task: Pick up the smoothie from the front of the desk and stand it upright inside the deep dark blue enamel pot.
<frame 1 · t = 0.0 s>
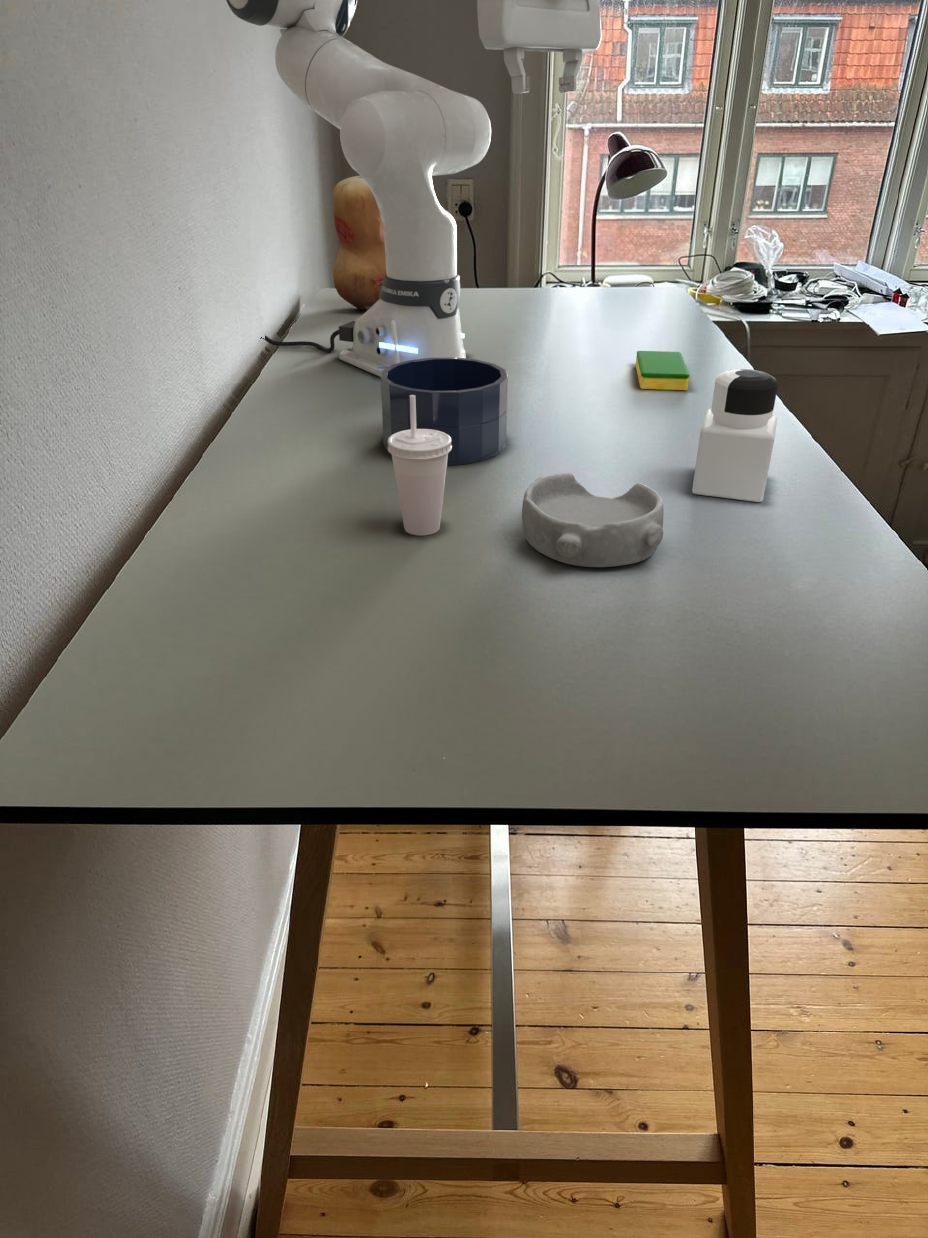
hand: (545, 92, 112), 39 cm above the table, tool pointing down, fingers open, 8 cm apart
butternut squash: (369, 310, 183), on the table
smoothie: (422, 529, 93), on the table
dish: (589, 544, 90), on the table
pot: (444, 443, 114), on the table
dish sponge: (660, 378, 140), on the table
container: (729, 488, 102), on the table
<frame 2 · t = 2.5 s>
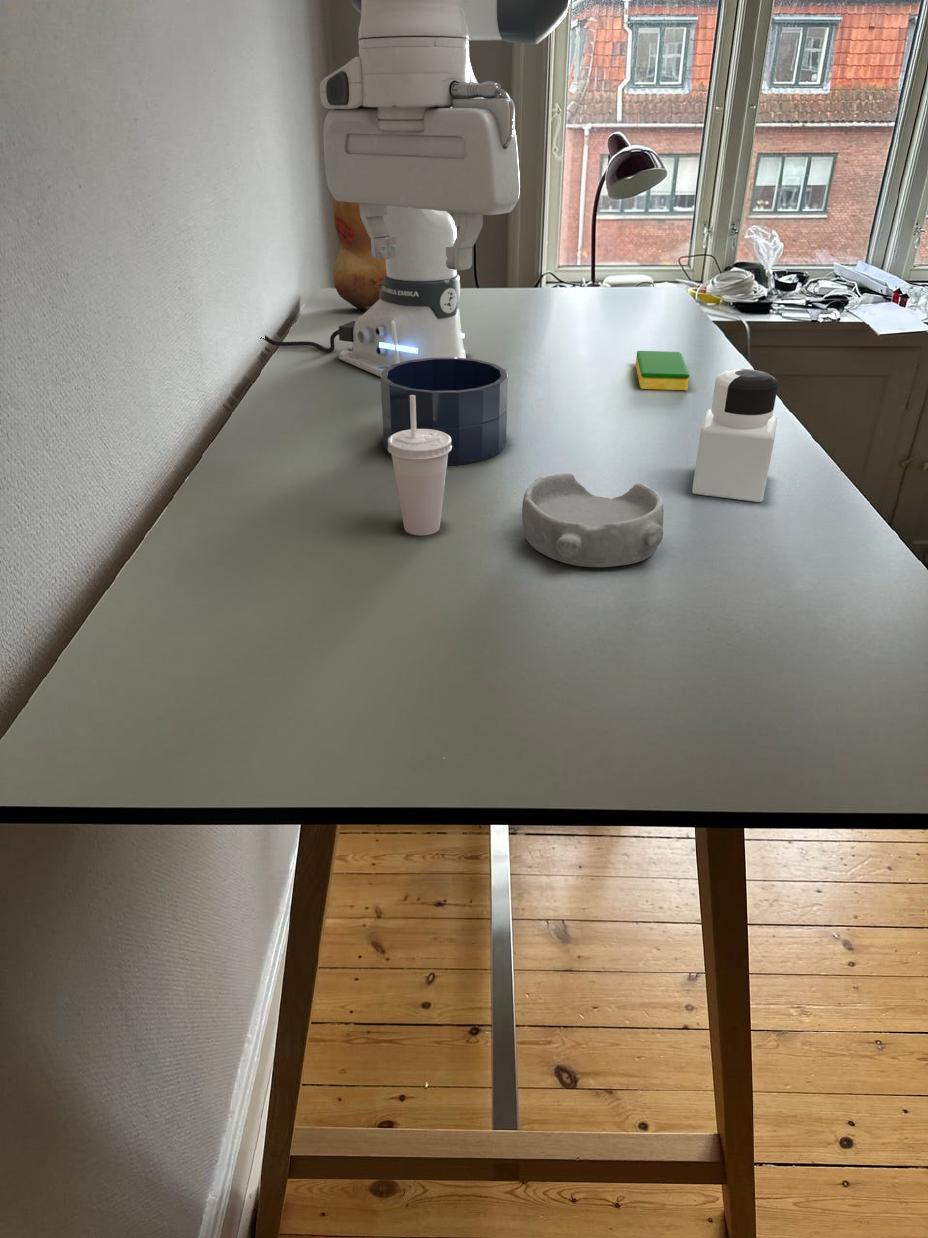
hand: (420, 263, 79), 26 cm above the table, tool pointing down, fingers open, 8 cm apart
nothing on the table moved.
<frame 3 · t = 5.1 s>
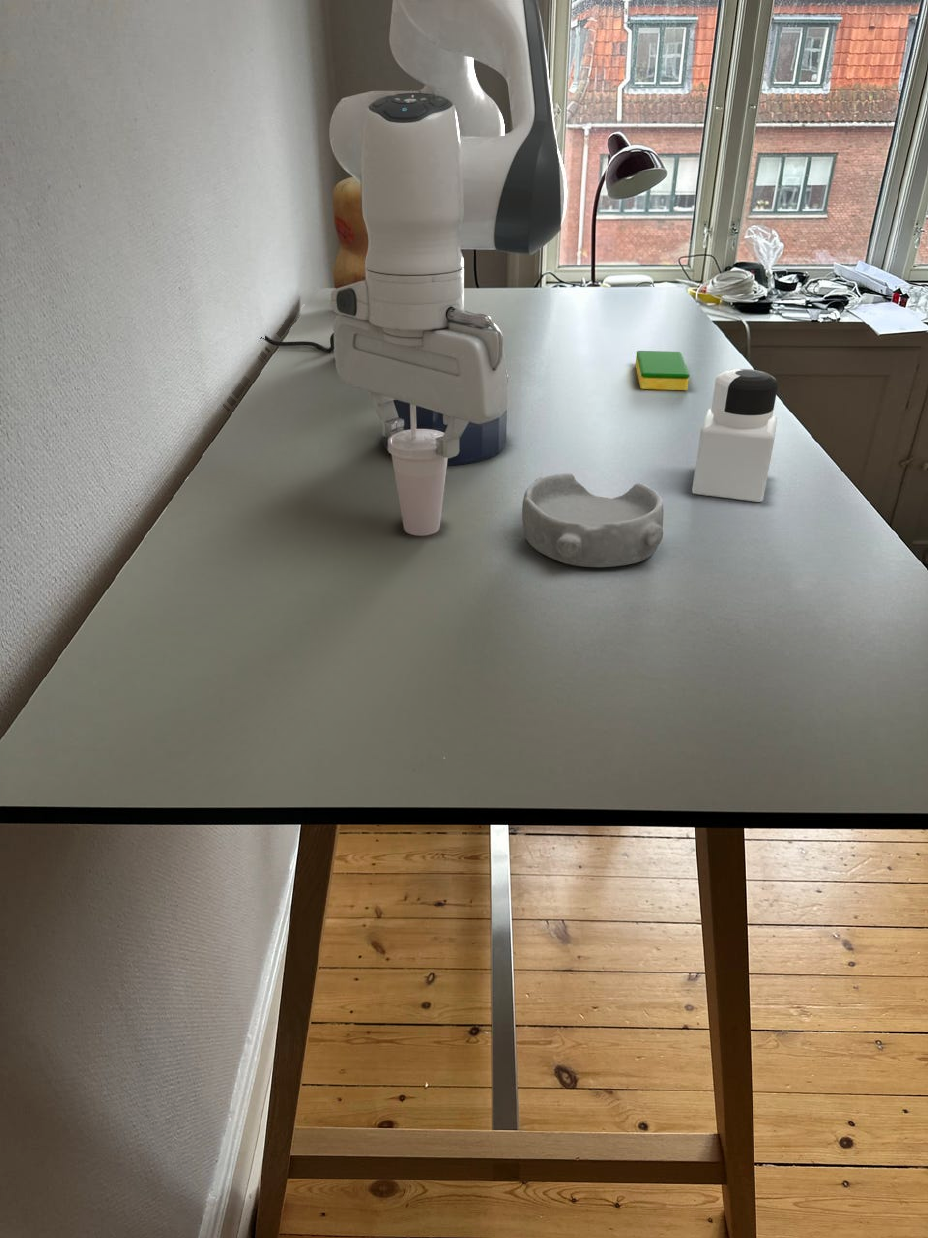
hand: (419, 445, 88), 9 cm above the table, tool pointing down, fingers closed on smoothie, 6 cm apart
smoothie: (421, 529, 93), on the table, touching gripper
everything else where it was.
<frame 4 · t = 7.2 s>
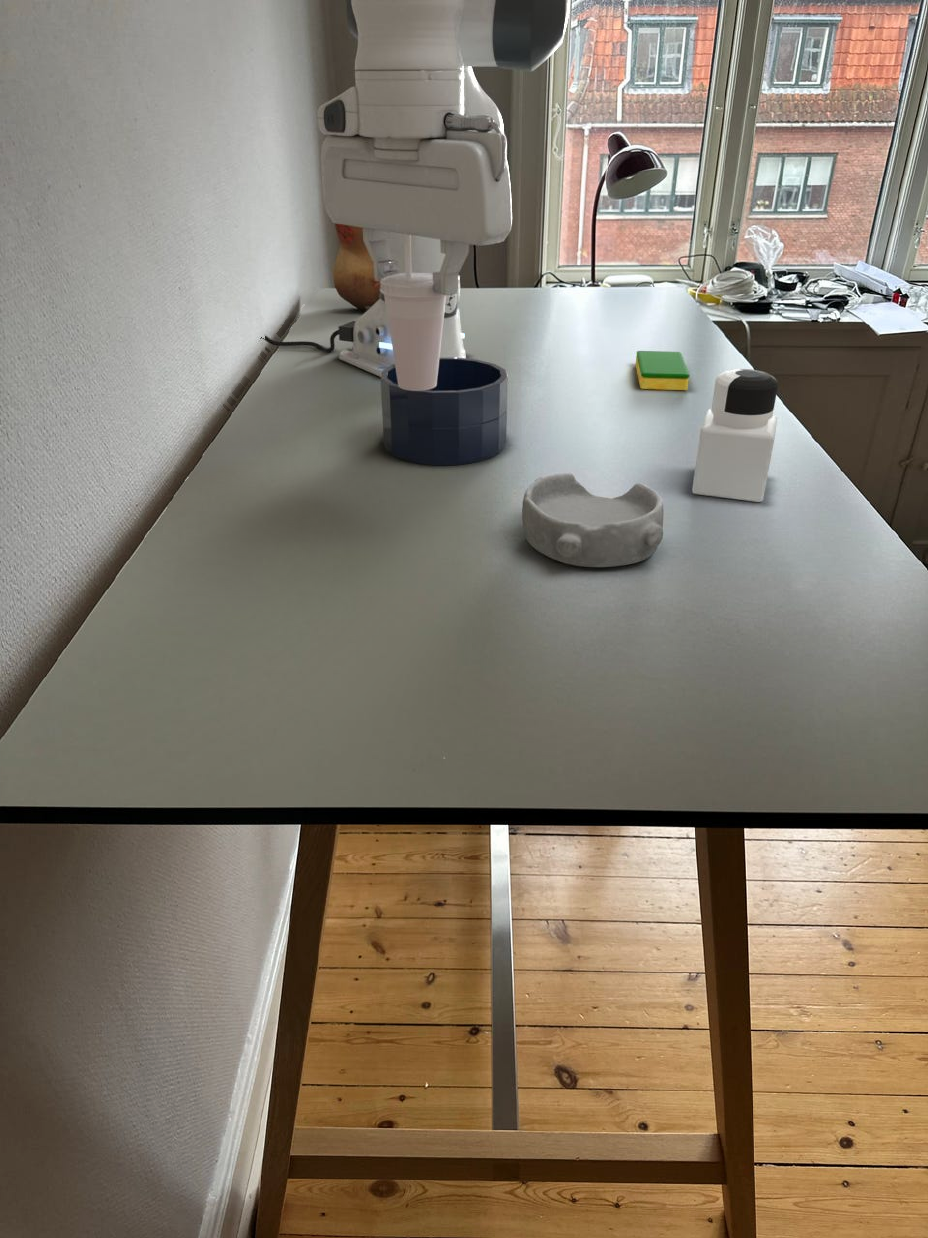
hand: (415, 287, 81), 24 cm above the table, tool pointing down, fingers closed on smoothie, 6 cm apart
smoothie: (417, 386, 85), point 15 cm above the table, touching gripper
everything else where it was.
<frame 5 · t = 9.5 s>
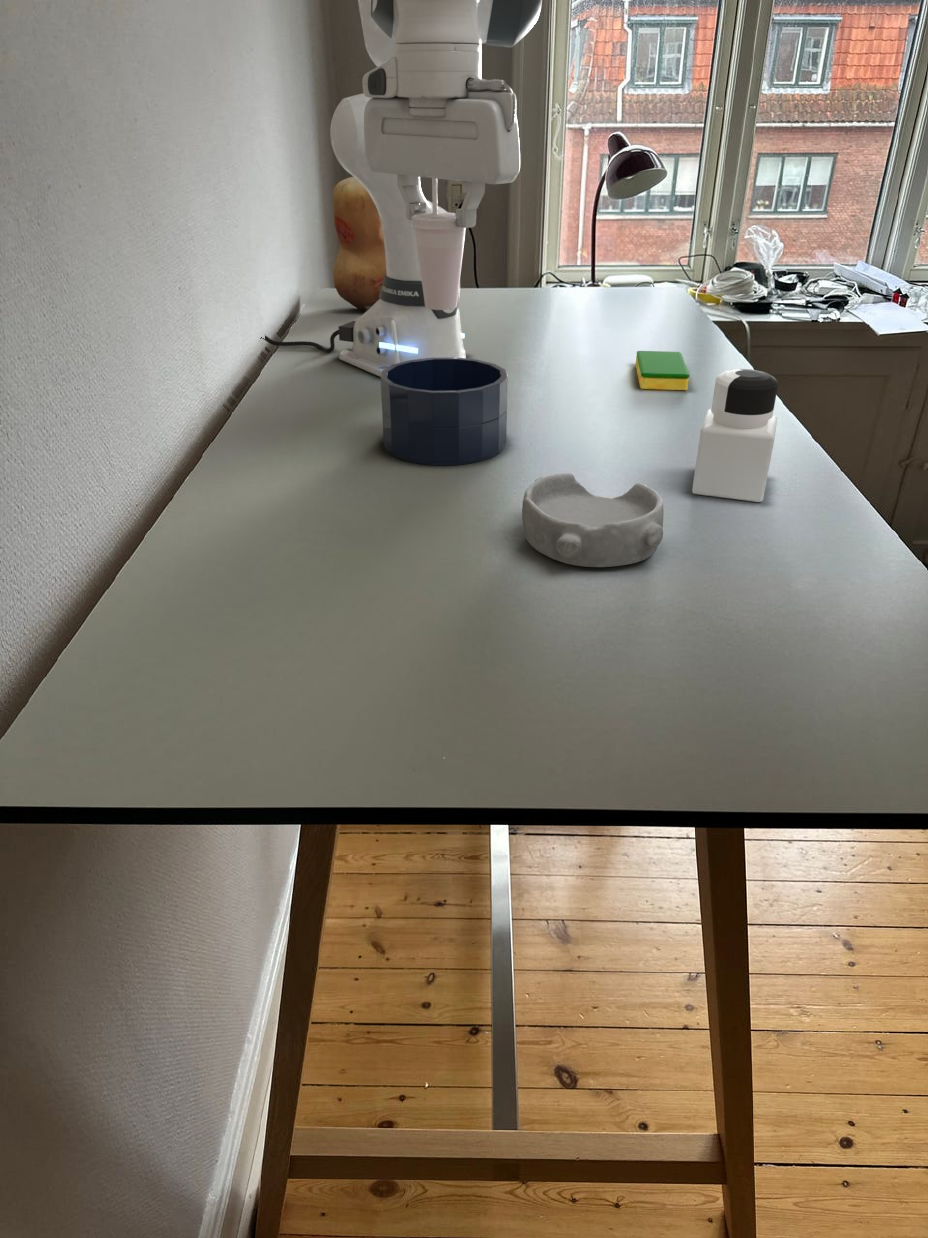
hand: (440, 223, 99), 26 cm above the table, tool pointing down, fingers closed on smoothie, 6 cm apart
smoothie: (441, 307, 104), point 17 cm above the table, touching gripper
everything else where it was.
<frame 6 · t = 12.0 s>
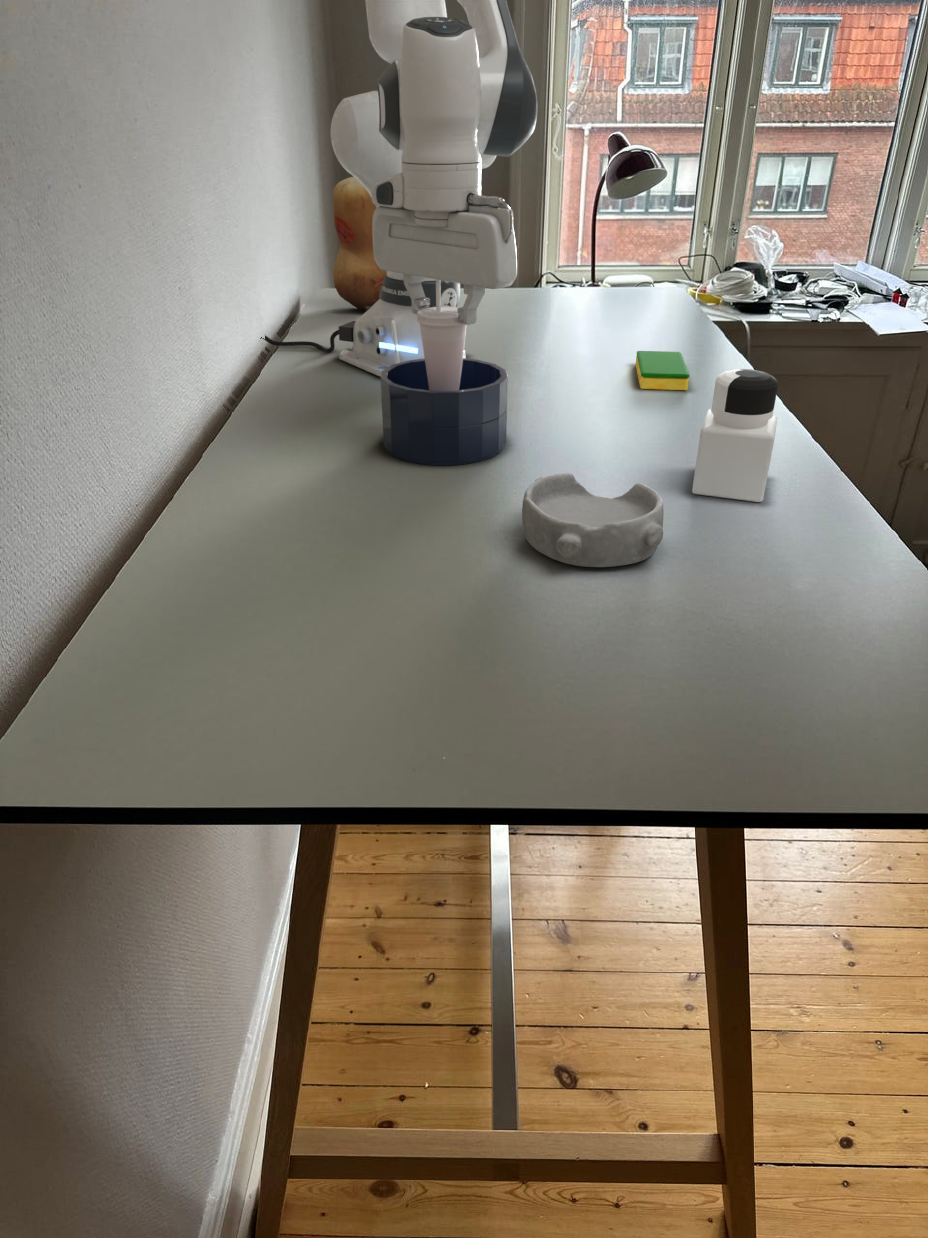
hand: (443, 318, 106), 16 cm above the table, tool pointing down, fingers closed on smoothie, 6 cm apart
smoothie: (444, 393, 111), point 7 cm above the table, touching gripper
everything else where it was.
when the fingers open (9 cm above the table, at t = 14.1 s): smoothie stays where it is, resting on pot.
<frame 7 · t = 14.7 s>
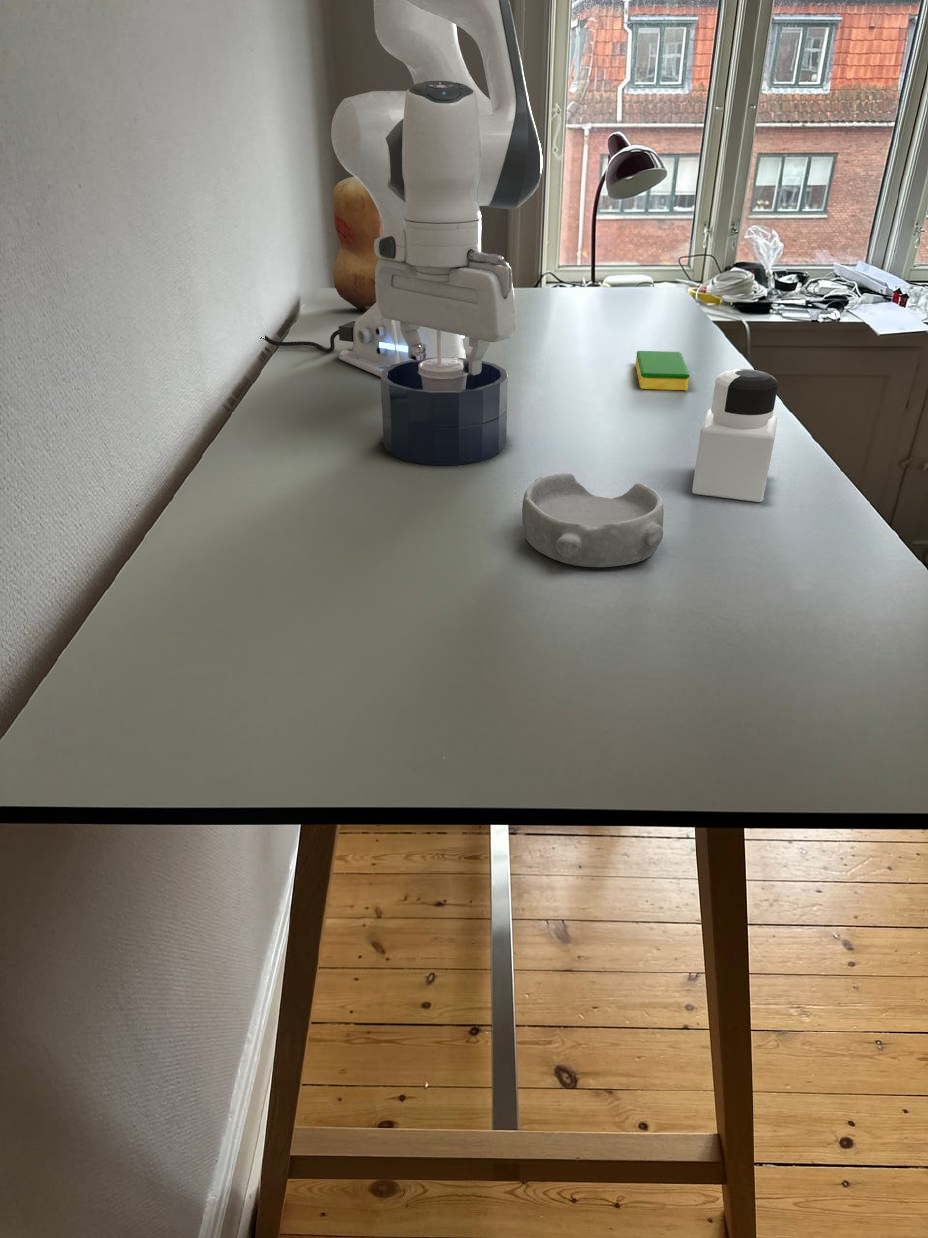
hand: (444, 366, 109), 10 cm above the table, tool pointing down, fingers open, 8 cm apart
smoothie: (444, 441, 114), resting on pot
everything else where it was.
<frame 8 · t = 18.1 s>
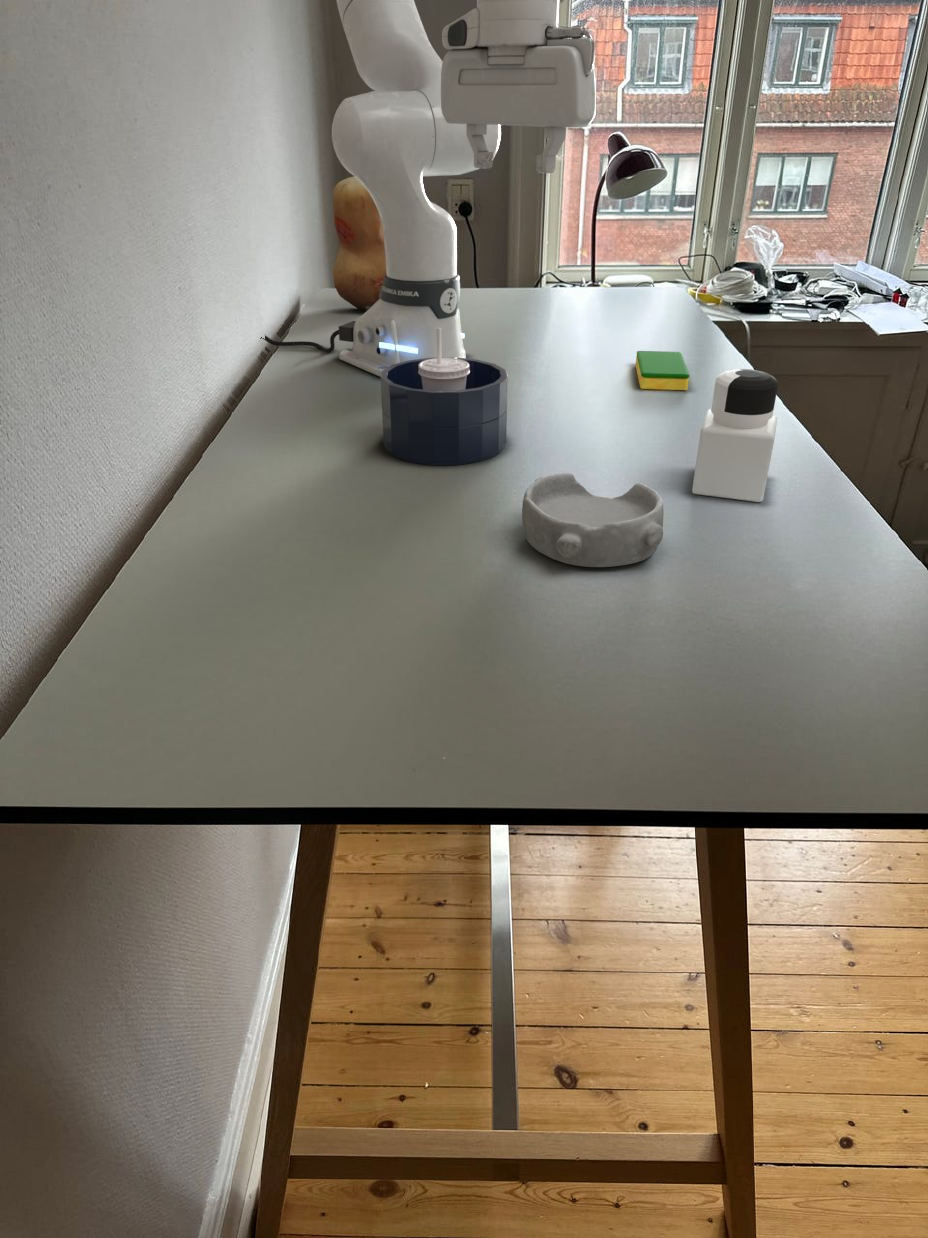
hand: (513, 170, 103), 31 cm above the table, tool pointing down, fingers open, 8 cm apart
nothing on the table moved.
at the end: smoothie inside the target area in the pot (0.0 cm from its centre), point 0.3 cm above the pot's base; smoothie tilted 0°; the gripper is holding nothing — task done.
